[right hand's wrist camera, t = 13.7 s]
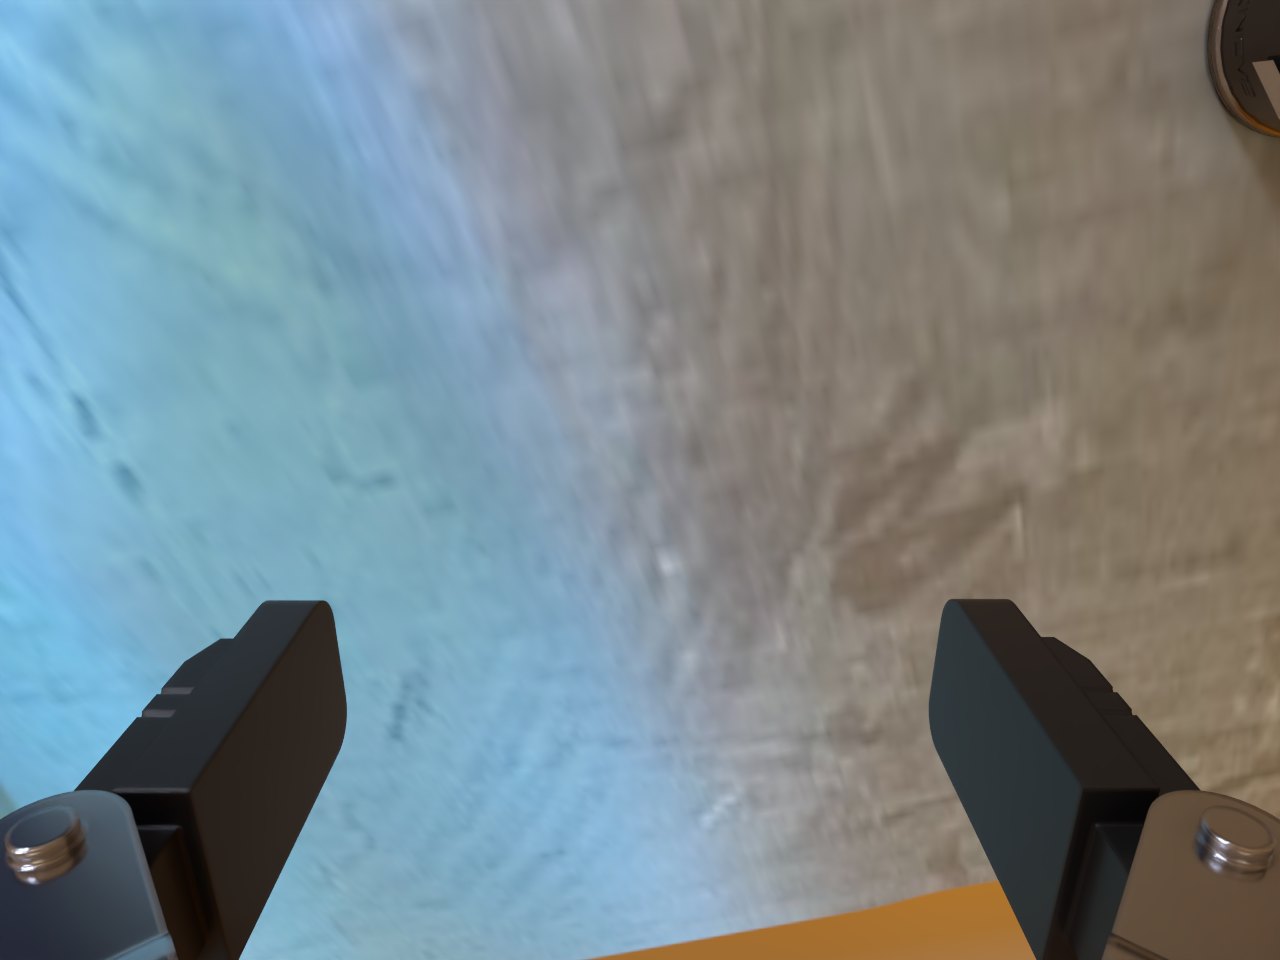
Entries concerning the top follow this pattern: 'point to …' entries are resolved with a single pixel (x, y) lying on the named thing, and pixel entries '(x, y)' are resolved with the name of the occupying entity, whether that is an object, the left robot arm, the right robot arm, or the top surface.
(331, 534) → the top surface
